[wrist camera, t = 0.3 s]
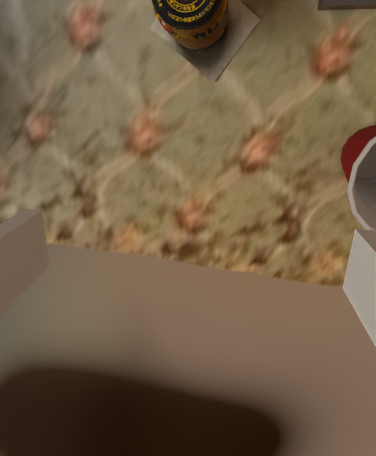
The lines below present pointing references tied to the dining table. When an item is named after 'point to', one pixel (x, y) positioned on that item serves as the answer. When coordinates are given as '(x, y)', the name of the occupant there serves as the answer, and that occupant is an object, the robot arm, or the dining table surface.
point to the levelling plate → (346, 4)
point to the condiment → (204, 30)
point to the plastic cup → (361, 175)
